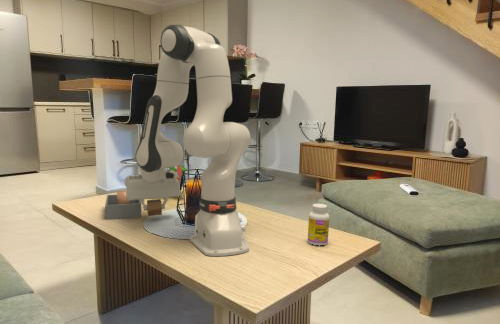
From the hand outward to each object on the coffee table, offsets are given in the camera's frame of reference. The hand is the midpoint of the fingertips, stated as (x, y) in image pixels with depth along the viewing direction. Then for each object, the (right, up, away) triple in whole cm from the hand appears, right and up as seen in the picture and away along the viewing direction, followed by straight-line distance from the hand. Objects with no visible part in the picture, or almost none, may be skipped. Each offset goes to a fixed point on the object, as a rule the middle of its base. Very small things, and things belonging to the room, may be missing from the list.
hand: (154, 209), depth 142 cm
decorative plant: (-3, +2, +41) cm, 41 cm away
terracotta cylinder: (-16, -1, +13) cm, 21 cm away
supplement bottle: (+59, -9, -20) cm, 63 cm away
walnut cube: (0, -2, 0) cm, 2 cm away
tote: (-15, -2, +9) cm, 18 cm away
